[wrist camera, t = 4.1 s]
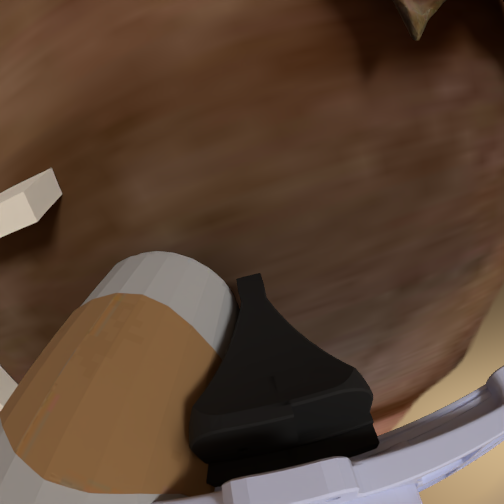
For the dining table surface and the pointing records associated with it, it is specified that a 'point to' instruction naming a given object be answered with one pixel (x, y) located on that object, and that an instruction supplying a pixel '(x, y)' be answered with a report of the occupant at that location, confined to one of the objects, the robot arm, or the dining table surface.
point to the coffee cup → (120, 390)
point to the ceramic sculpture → (417, 14)
